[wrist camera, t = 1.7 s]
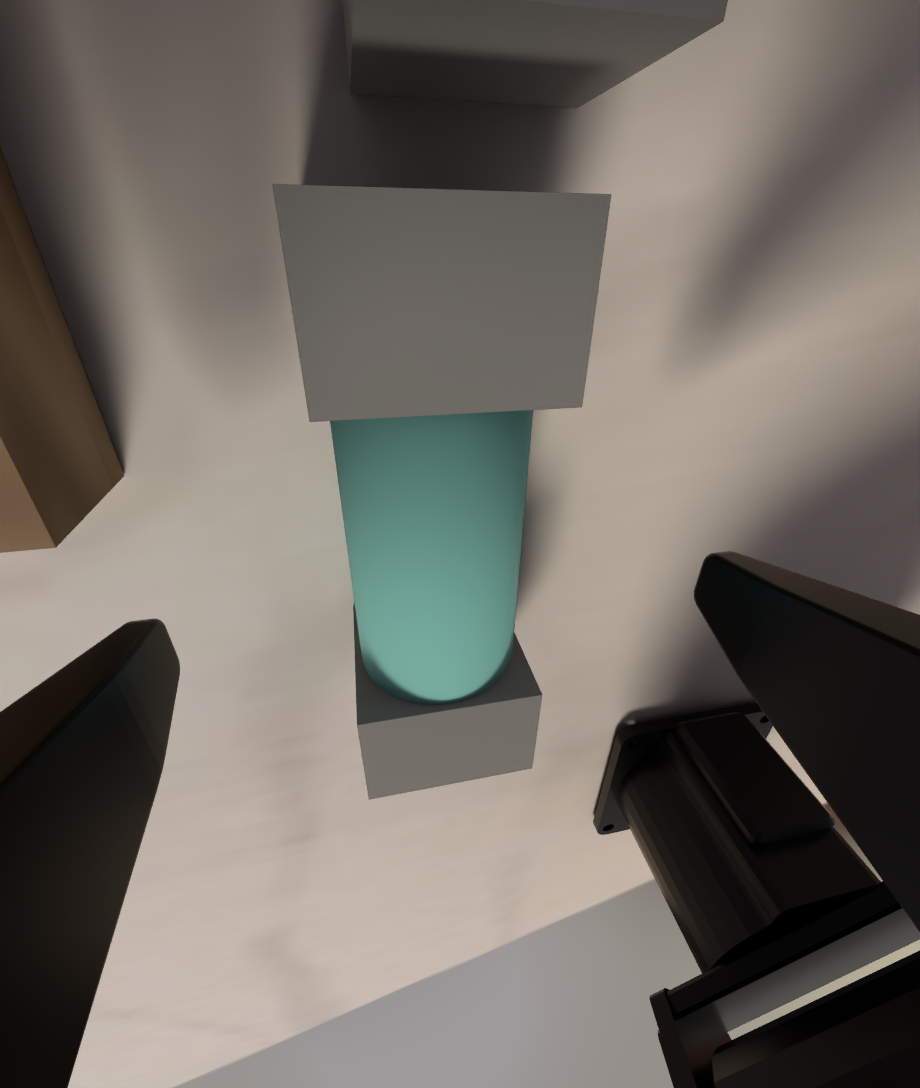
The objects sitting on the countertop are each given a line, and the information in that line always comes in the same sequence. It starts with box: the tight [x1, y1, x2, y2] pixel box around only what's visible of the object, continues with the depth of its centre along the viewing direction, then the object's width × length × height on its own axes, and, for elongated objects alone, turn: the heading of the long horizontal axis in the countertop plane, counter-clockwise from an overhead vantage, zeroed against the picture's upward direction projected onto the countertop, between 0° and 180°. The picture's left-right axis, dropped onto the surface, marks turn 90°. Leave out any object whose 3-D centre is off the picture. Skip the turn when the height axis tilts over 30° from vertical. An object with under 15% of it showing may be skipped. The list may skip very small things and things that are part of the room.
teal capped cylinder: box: [272, 184, 611, 799], centre depth 10 cm, size 11×4×4 cm, turn 179°
